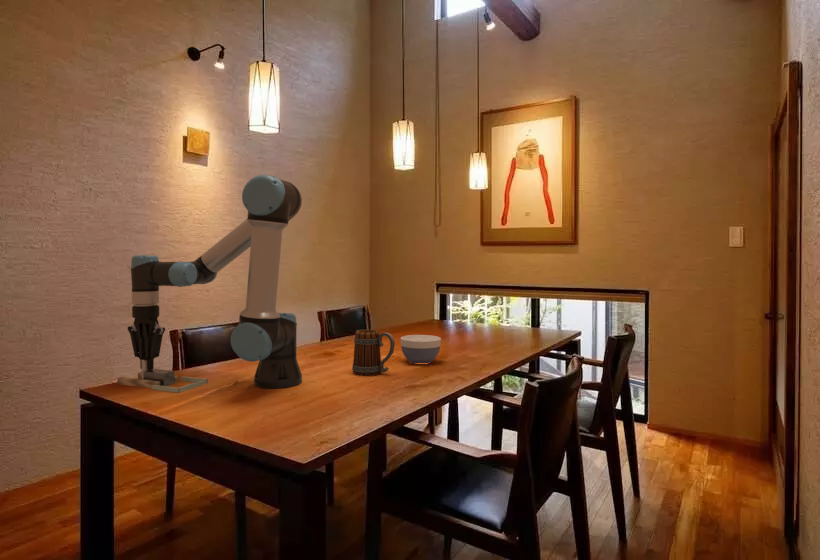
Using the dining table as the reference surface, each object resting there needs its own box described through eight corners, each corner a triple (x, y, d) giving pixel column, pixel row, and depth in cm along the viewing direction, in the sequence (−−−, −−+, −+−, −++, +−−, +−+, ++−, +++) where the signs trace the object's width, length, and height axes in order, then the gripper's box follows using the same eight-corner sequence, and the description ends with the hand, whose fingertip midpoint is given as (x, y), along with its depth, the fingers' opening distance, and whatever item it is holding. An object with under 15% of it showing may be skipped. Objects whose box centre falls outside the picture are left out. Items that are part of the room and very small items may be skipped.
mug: (346, 374, 175) (346, 332, 174) (360, 368, 185) (361, 328, 184) (387, 378, 169) (387, 335, 168) (399, 372, 179) (399, 330, 178)
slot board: (178, 386, 158) (178, 375, 158) (155, 393, 149) (155, 382, 149) (141, 381, 163) (141, 371, 162) (117, 388, 154) (117, 378, 154)
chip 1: (164, 382, 156) (163, 369, 156) (153, 385, 153) (153, 372, 152) (154, 381, 158) (153, 368, 157) (143, 384, 154) (143, 371, 154)
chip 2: (174, 383, 155) (174, 370, 155) (164, 386, 151) (164, 373, 151) (164, 382, 156) (164, 369, 156) (153, 385, 153) (153, 372, 152)
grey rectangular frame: (207, 387, 156) (207, 378, 156) (178, 397, 145) (178, 388, 144) (182, 384, 159) (182, 376, 159) (151, 394, 148) (151, 385, 148)
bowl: (398, 358, 204) (398, 334, 203) (437, 357, 205) (437, 334, 205) (402, 366, 188) (402, 341, 187) (444, 366, 190) (444, 341, 189)
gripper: (171, 304, 156) (173, 378, 157) (139, 303, 161) (141, 375, 162) (152, 306, 149) (153, 384, 150) (119, 305, 153) (121, 380, 155)
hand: (147, 379), depth 156 cm, fingers closed
